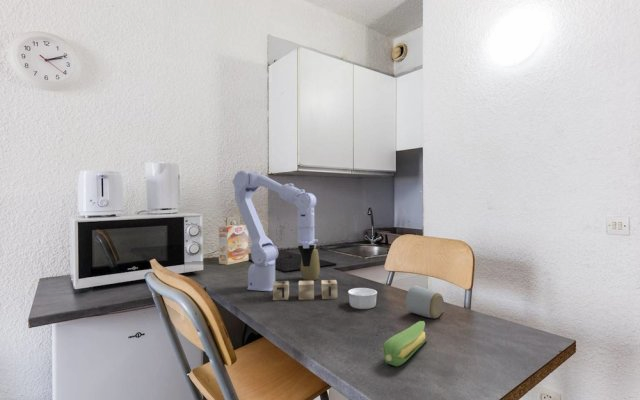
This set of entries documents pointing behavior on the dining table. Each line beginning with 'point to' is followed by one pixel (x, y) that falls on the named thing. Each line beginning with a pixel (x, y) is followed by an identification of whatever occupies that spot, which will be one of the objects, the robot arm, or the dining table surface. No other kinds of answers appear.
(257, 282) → the robot arm
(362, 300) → the ramekin
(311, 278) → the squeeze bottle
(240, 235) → the coffeecake box
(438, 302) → the grey and brown cylinder
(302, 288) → the plain block
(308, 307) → the dining table surface
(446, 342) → the dining table surface
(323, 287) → the numbered block one
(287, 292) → the numbered block seven
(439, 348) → the dining table surface
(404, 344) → the edible corn
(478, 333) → the dining table surface
